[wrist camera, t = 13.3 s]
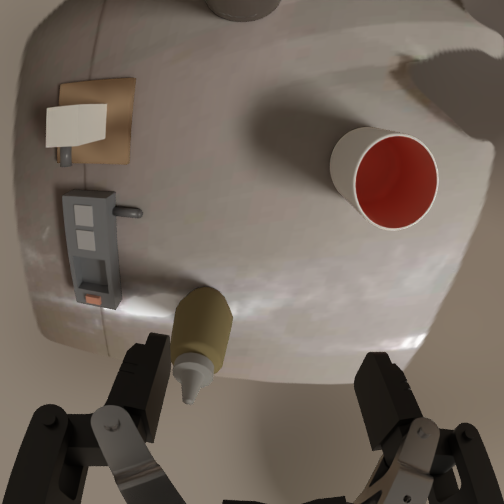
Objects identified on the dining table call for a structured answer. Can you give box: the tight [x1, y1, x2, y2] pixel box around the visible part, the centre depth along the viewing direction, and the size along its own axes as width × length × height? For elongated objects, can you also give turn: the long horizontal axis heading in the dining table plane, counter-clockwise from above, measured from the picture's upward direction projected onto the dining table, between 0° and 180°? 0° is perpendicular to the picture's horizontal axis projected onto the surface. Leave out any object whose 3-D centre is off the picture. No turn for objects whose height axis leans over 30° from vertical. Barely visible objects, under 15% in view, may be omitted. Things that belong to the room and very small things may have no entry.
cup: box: [330, 127, 439, 231], centre depth 31 cm, size 10×10×10 cm
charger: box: [46, 104, 107, 167], centre depth 29 cm, size 7×4×7 cm, turn 173°
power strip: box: [62, 190, 143, 310], centre depth 39 cm, size 17×11×4 cm, turn 172°
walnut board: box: [57, 78, 136, 165], centre depth 32 cm, size 11×11×1 cm
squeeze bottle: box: [170, 287, 233, 404], centre depth 36 cm, size 8×8×18 cm
